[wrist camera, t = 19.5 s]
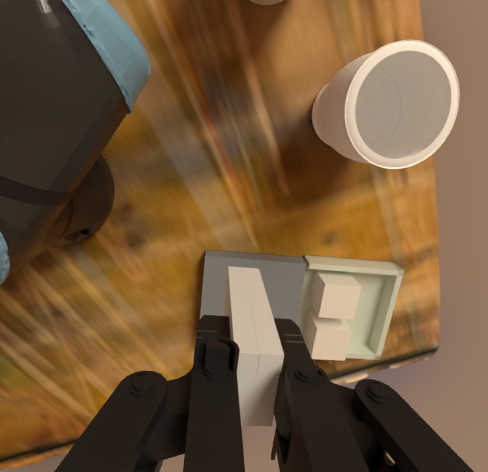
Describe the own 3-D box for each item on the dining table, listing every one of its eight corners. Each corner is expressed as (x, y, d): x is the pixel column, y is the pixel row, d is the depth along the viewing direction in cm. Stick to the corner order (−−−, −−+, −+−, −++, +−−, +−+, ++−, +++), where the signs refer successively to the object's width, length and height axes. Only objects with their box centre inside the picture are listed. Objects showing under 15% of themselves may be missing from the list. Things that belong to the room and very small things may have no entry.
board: (198, 335, 52) (197, 345, 50) (205, 249, 48) (205, 256, 46) (287, 340, 53) (291, 350, 51) (302, 257, 49) (306, 264, 47)
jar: (380, 152, 46) (454, 163, 31) (304, 159, 45) (344, 174, 31) (383, 64, 42) (468, 33, 28) (301, 71, 42) (345, 43, 28)
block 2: (302, 338, 53) (311, 358, 48) (308, 309, 51) (317, 328, 47) (333, 339, 53) (344, 360, 49) (339, 311, 52) (352, 330, 47)
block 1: (309, 299, 51) (318, 317, 46) (314, 268, 49) (325, 283, 45) (341, 301, 51) (353, 319, 47) (347, 271, 50) (361, 286, 45)
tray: (288, 342, 54) (293, 355, 51) (304, 254, 49) (309, 263, 46) (370, 346, 55) (379, 359, 52) (392, 262, 51) (404, 270, 48)
